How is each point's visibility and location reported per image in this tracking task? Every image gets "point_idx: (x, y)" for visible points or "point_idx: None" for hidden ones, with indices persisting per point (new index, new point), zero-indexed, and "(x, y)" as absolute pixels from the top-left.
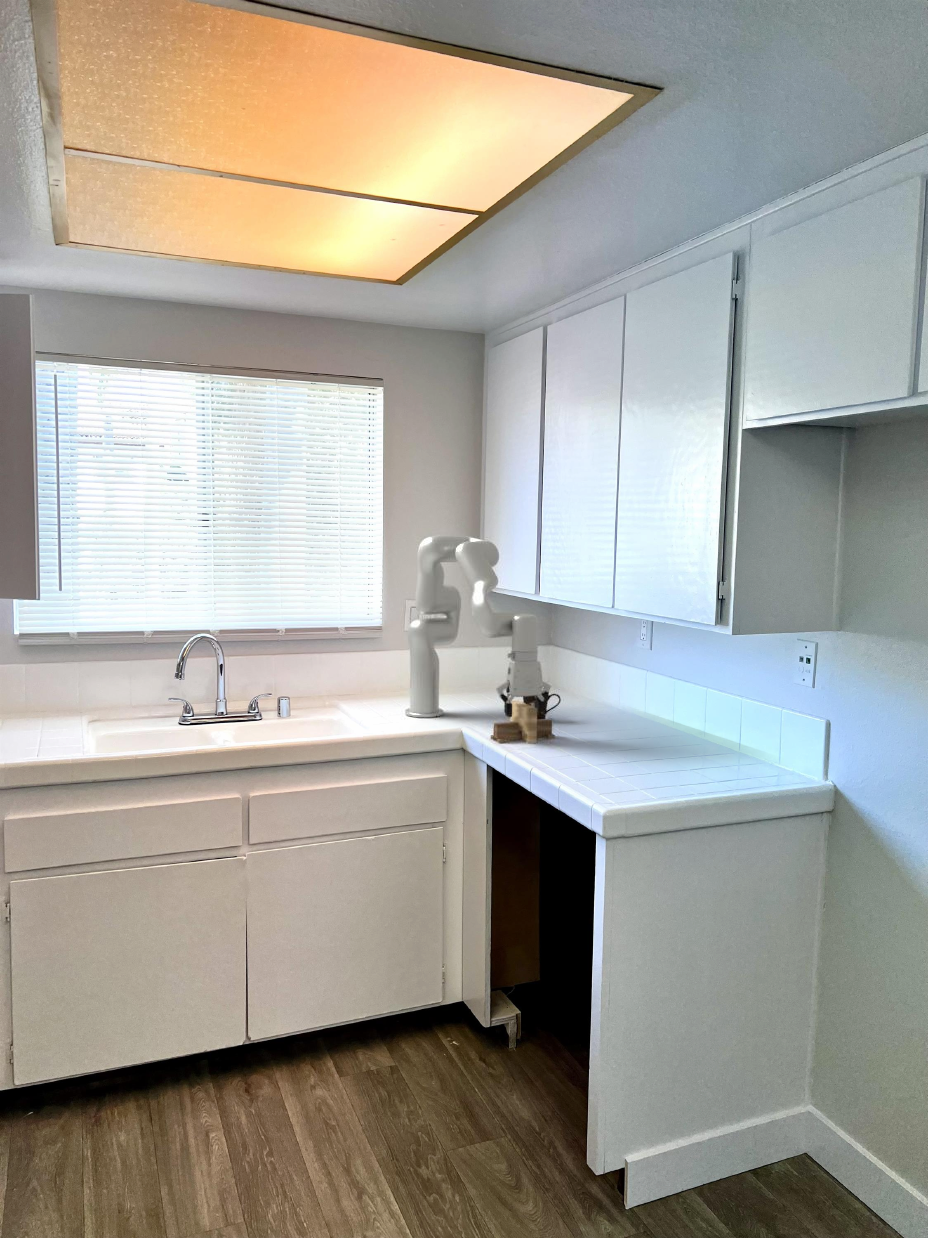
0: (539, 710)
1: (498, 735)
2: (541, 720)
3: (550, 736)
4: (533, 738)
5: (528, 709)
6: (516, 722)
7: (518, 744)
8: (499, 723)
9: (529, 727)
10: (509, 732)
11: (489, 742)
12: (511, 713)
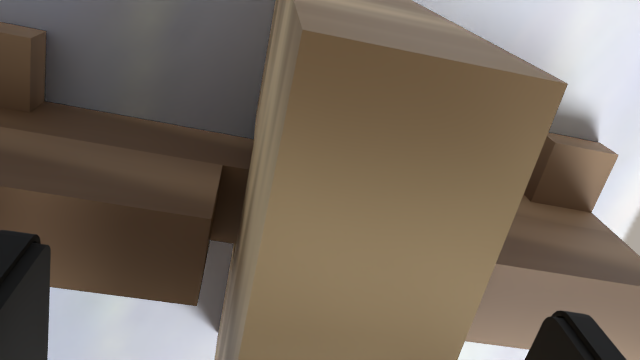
0: (8, 281)
1: (585, 223)
2: (8, 221)
3: (11, 32)
4: None
5: (546, 110)
6: None
7: (493, 8)
8: (610, 322)
9: (414, 4)
10: None
11: (633, 210)
12: (593, 341)
